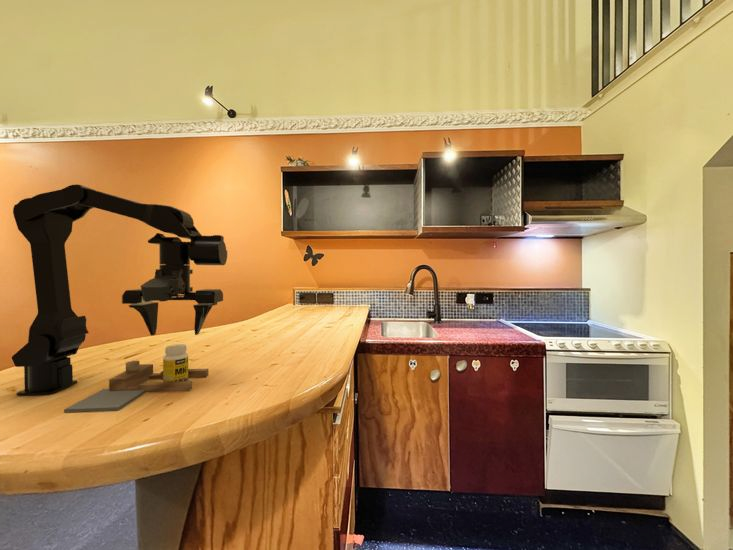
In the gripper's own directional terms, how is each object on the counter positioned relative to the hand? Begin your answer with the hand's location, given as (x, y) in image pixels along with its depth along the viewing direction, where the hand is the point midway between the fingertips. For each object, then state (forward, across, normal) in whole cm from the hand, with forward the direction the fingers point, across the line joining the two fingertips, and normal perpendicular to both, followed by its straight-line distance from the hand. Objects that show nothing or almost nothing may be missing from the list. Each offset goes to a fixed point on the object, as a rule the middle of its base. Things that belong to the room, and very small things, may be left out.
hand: (175, 334), depth 66 cm
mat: (+11, -8, -8) cm, 16 cm away
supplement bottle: (+11, 0, 0) cm, 11 cm away
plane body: (+11, -3, 0) cm, 11 cm away
